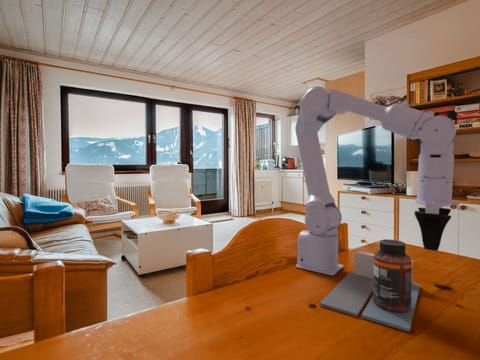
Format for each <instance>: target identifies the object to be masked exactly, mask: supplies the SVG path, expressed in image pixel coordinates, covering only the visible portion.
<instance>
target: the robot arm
mask: <svg viewBox="0 0 480 360" xmlns="http://www.w3.org/2000/svg"><path fill="white" fill-rule="evenodd" d="M327 90H328V91H327ZM327 90H326V89H325V88H324V87H323V86H318V85H317V86H313V87H311V88H309V89H308V90H307V91H306V92H305V93H303V94H304V95H303V96H302V97H301V99H300V100H299V102H298V103H299V112H298V116H297V118H296V119H297V120H296V124H295V127H294V129H295V130H294V131H295V135H296V141H297V144H298V145H297V146H298V151H299V155H300V160H301V164H302V171H303V176H304V180H305V185H306V186H305V187H306V190H307V191H306V192H307V196H308V197H307V199H306V202H305V216H304V224H305V227H306V228H307V229H308V230H306V229H305V230H304V229H303V230H301V231H300V232H299V234H298V238H297V251H296V252H297V255H296V256H297V257H296V258H297V260H296V261H297V262H296V263H297V264H295V267H296V268H298V269H302V270H307V271H311V272H315V273H319V274H324V275H328V276H335V275H336V274H337V273H338V272H340V270H341V269H342V268H344V264H340V263H339V262H338V261H339V233H340V232H339V230H338V226H340V224H341V222H342V219H343V216H342V212H341V211H340V209H339V208H338V206H337V204H336V201H335V198H334V197H333V195H332V194H331V192H330V187H329V183H328V178H327V173H326V168H325V163H324V162H325V161H324V158H323V153H322V148H321V145H320V144H321V143H320V139H319V135H318V134H319V131H320V130H321V129H322V127H323V126H324V125H325V124H326V123H328V122H329V121H331V120H332V119H333V118H334V117H335V116H336V115H337V114H338V115H344V114H345V113H348V112H350V113H352V114H356V115H358V116H363V117H366V118H368V119H373V120H374V121H378V122H380V124H381V125H380V126H381V127H382V129H383V130H385V131H388V132H391V133H394V134H396V135H399V136H402V137H404V138H407V139H411V140H417V139H419V140H420V153H419V155H418V168H417V190H416V198H415V203H416V204H418V205H421V206H424V207H418V209H417V210H415V211H414V213H413V214H414V216H415V218H416V220H417V222H418V225H419V228H420V232H421V239H422V246H423V249H424V250H426V251H427V250H428V251H434V252H438V250H439V249H440V246H441V241H442V237H443V234H444V230H445V228H446V226H447V225H448V223H449V222H450V220H451V219H452V215H450V213H451V210H452V209H451V208H446V207H451V206H460V201H459V200H453V184H454V183H453V182H454V181H453V180H454V179H453V178H454V165H455V164H454V163H455V155H454V153H453V152H454V148H455V146H454V142H453V141H452V140H453V139H454V138H455V136H456V133H457V128H456V124H455V123H454V121H453V120H452V119H451V118H450V117H448V116H445V115H435V112H434V111H430V110H428V112H425V111H422V110H419V109H416V108H413V107H410V106H411V105H410V104H409V103H408V102H404V101H403V102H402V104H399V103H393V104H391V105H388V106H384V105H381V104H378V103H377V102H376V103H375V102H373V101H369V100H367V99H365V98H361V97H359V96H356V95H353V94H351V93H347V92H344V91H341V90H338V89H337V90H336V89H334V88H327Z"/></svg>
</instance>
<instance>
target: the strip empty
mask: <svg viewBox="0 0 480 360" xmlns="http://www.w3.org/2000/svg"><path fill="white" fill-rule="evenodd" d="M374 254H375V253H372V252H366V251H360V250H356V251H355V252H354V263H353V264H354V266H353V267H354V268H353V269H351V270H350V271H349V272H348V273H347V274H346V275H345V276H344V277H343V278H342V279H341V280H340V281H339V282H338V283H337V285H335V286H334V288H332V290H330V292H329V293H327V294H326V295H325V297H324V298H322V300H320V302H319V306H320V307H324V308H327V309H330V310H333V311H337V312H339V313H343V314H347V315H350V316H353V317H357V318H358V316H359V315H360V314H361V313H362V310H363V309H364V307H365V306H366V304H367V302H368V300H369V299H370V297H371V295H373V275H374Z"/></svg>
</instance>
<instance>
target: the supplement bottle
mask: <svg viewBox="0 0 480 360" xmlns="http://www.w3.org/2000/svg"><path fill="white" fill-rule="evenodd" d="M406 248H407V247H406V242H403V241H401V240H396V239H380V241H379V250H378V251H375V252H374V253H373V254H374V275H373V292H372V296H373V300H374V302H375V304H376V305H377V306H379V307H381V308H383V309H386V310H389V311H394V312H405V311H408V310H409V309H410V308H411V287H412V283H413V271H412V260H413V259H412V257H410V256H409V255H408V254H407V253H406V251H407V250H406Z"/></svg>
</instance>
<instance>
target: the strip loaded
mask: <svg viewBox="0 0 480 360" xmlns="http://www.w3.org/2000/svg"><path fill="white" fill-rule="evenodd" d="M411 260H412V272H413V268H414V266H413V265H414V259H411ZM420 288H421V284H420V283H416V282H412V287H411V308H410V309H409V310H408V311H405V312H394V311H389V310H386V309H383V308H381V307H379V306H377V305H376V304H375V302H374V300H373V295H372V297H371V298H370V300H369V302H368V304H367V305H365V306H366V307H365V308H364V310H363V312H361V313H362V314H361V318H362V319H364V320H368V321H371V322H375V323H379V324H381V325H384V326H387V327H390V328H391V327H392V328H394V329H397V330H400V331H404V332H408V333H410V332H411V328H412V324H413V320H414V314H415V310H416V306H417V302H418V297H419V293H420Z"/></svg>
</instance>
